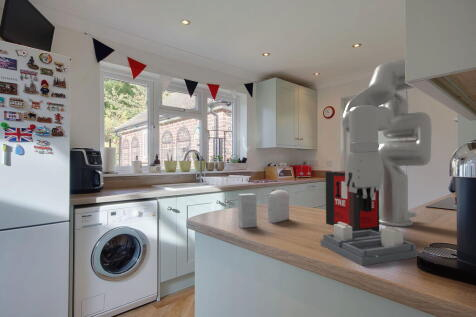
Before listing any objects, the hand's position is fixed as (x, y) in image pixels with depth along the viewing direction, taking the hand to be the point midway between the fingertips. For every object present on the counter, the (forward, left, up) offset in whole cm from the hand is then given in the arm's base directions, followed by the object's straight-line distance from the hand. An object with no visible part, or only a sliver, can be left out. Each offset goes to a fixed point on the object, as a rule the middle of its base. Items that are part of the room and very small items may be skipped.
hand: (365, 210), depth 78 cm
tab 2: (0, +9, -8) cm, 12 cm away
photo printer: (+11, -34, -10) cm, 37 cm away
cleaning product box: (-9, -16, -10) cm, 21 cm away
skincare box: (+26, -30, -10) cm, 41 cm away
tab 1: (+9, +1, -8) cm, 12 cm away
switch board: (+4, +5, -10) cm, 11 cm away
